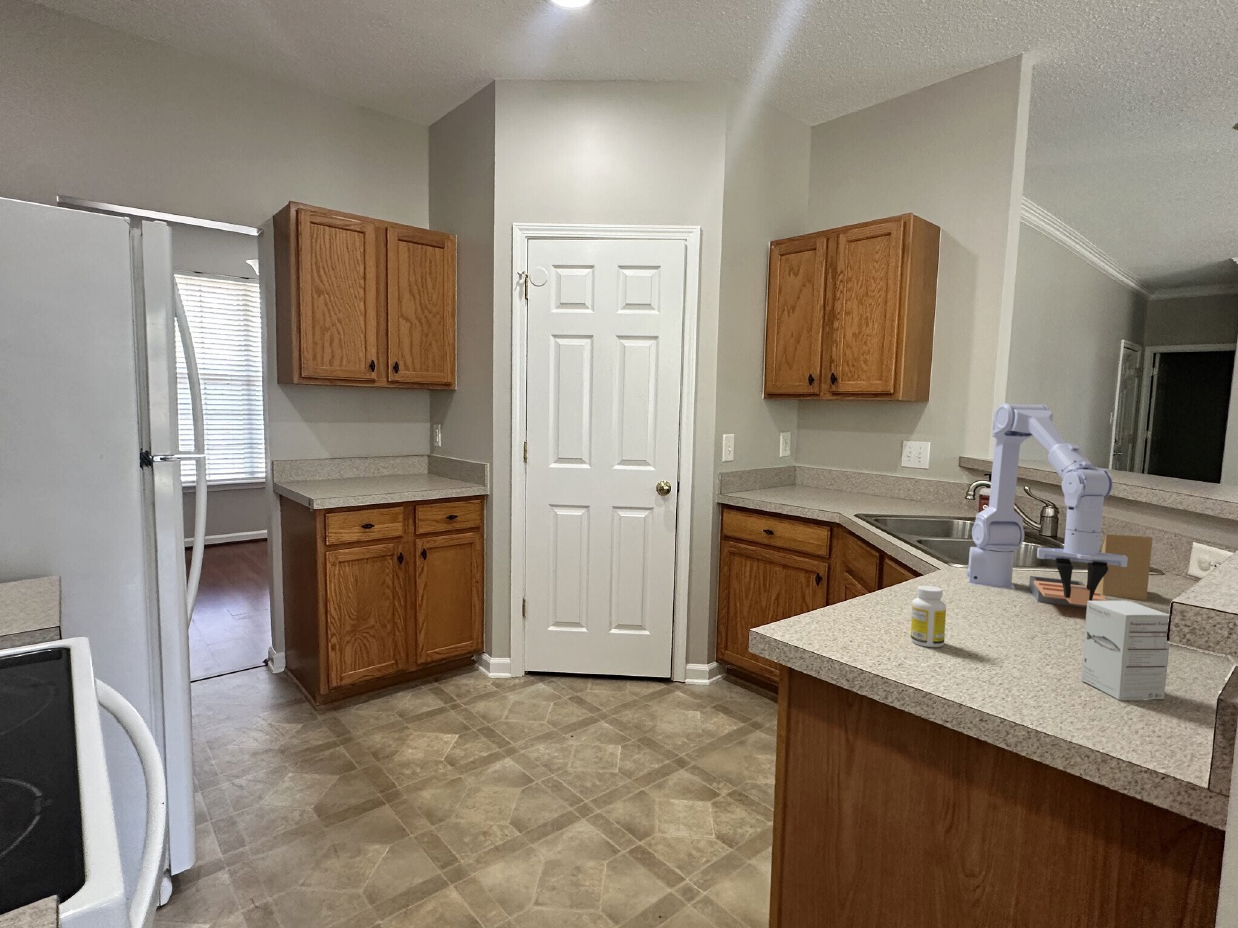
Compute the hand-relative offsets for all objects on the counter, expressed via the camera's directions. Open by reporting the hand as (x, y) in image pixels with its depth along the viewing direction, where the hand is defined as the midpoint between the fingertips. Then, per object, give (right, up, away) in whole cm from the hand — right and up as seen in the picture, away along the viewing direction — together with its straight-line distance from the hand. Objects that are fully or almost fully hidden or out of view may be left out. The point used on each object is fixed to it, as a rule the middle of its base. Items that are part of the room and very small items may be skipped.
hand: (1077, 598), depth 131 cm
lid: (+3, -1, +6) cm, 7 cm away
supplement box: (-17, -7, -33) cm, 38 cm away
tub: (+7, -4, +16) cm, 18 cm away
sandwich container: (+26, -4, +25) cm, 36 cm away
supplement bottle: (-37, -5, -14) cm, 40 cm away
